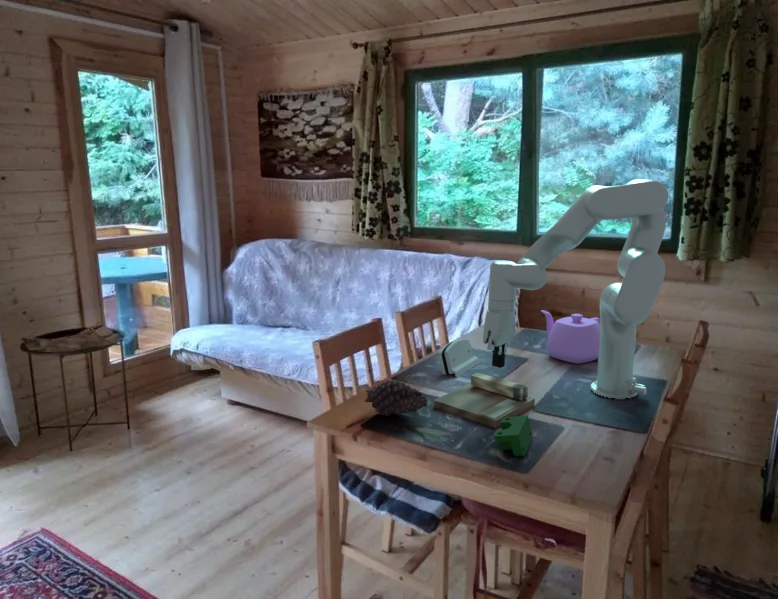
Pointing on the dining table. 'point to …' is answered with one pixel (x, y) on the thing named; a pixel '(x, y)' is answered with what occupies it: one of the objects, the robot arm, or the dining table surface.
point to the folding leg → (499, 386)
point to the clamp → (514, 434)
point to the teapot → (573, 338)
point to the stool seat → (482, 405)
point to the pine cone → (395, 398)
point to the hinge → (457, 357)
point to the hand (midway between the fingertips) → (498, 366)
